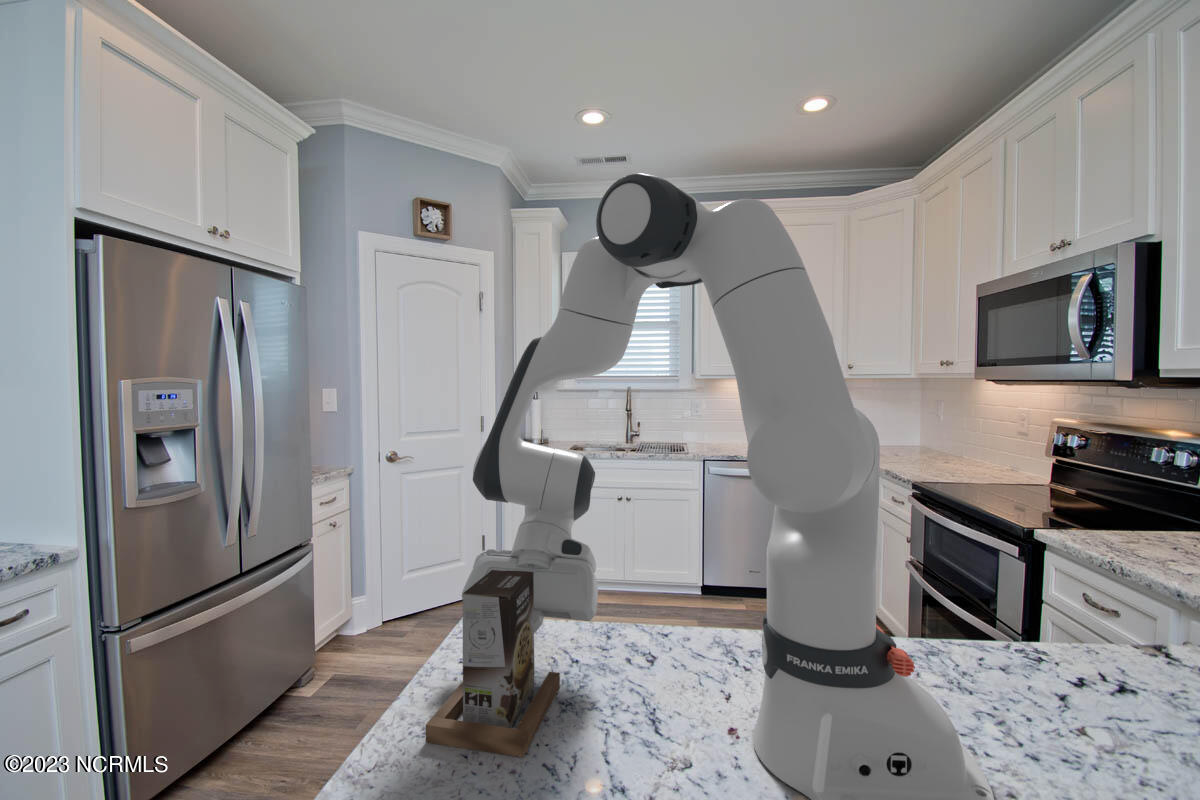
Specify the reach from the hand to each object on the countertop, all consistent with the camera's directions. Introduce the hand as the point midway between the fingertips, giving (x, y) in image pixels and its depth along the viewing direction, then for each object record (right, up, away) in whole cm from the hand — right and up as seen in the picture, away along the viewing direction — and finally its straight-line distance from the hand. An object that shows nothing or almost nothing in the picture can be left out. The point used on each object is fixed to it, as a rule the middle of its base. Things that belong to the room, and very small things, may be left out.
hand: (517, 645), depth 69 cm
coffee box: (-1, -6, -5) cm, 8 cm away
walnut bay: (-1, -5, -5) cm, 8 cm away
